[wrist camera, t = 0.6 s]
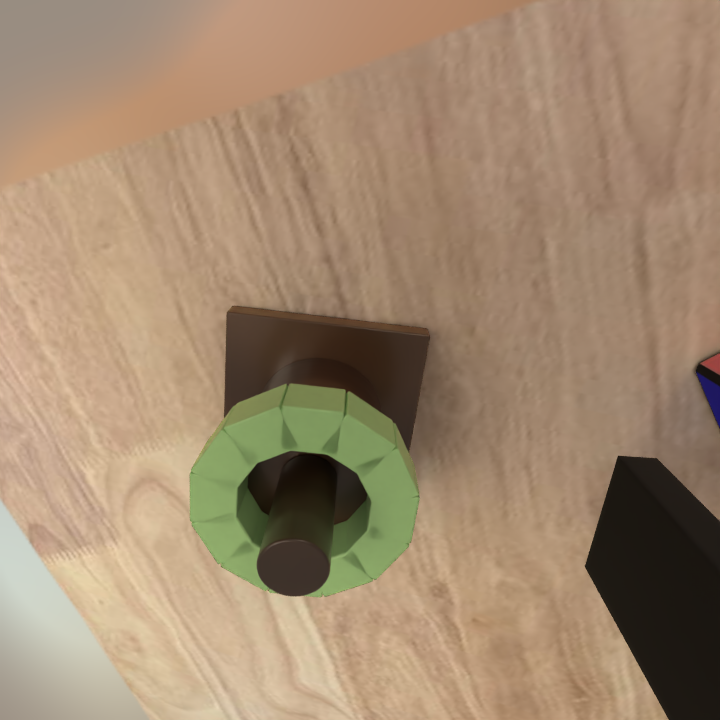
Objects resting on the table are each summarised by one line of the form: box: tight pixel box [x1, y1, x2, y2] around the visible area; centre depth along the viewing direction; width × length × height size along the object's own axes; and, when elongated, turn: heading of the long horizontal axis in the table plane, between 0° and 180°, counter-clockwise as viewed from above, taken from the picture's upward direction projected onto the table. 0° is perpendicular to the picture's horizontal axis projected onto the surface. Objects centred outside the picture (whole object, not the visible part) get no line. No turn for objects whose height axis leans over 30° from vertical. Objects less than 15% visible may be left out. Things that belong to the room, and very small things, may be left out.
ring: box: [190, 383, 420, 597], centre depth 20 cm, size 9×9×2 cm
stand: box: [224, 306, 430, 596], centre depth 22 cm, size 10×10×12 cm
